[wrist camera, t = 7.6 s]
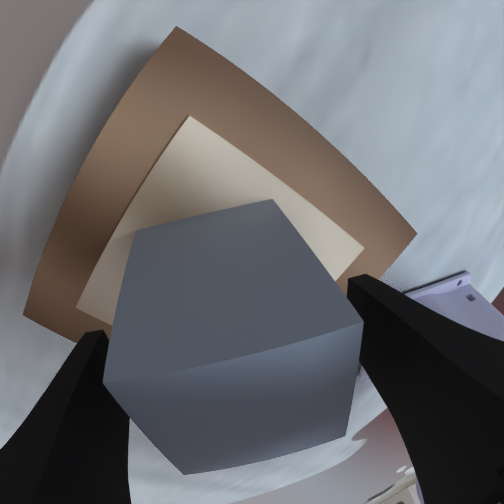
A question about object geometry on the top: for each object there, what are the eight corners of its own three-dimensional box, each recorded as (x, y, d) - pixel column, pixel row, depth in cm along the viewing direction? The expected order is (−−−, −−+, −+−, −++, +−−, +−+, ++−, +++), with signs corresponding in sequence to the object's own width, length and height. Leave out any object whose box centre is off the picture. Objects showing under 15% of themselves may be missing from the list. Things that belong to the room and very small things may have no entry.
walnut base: (178, 45, 10) (176, 25, 7) (371, 200, 16) (419, 235, 12) (50, 265, 14) (21, 316, 10) (235, 353, 19) (248, 407, 16)
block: (272, 198, 10) (363, 321, 5) (285, 306, 12) (345, 435, 7) (135, 230, 10) (102, 383, 5) (174, 332, 12) (184, 474, 7)
